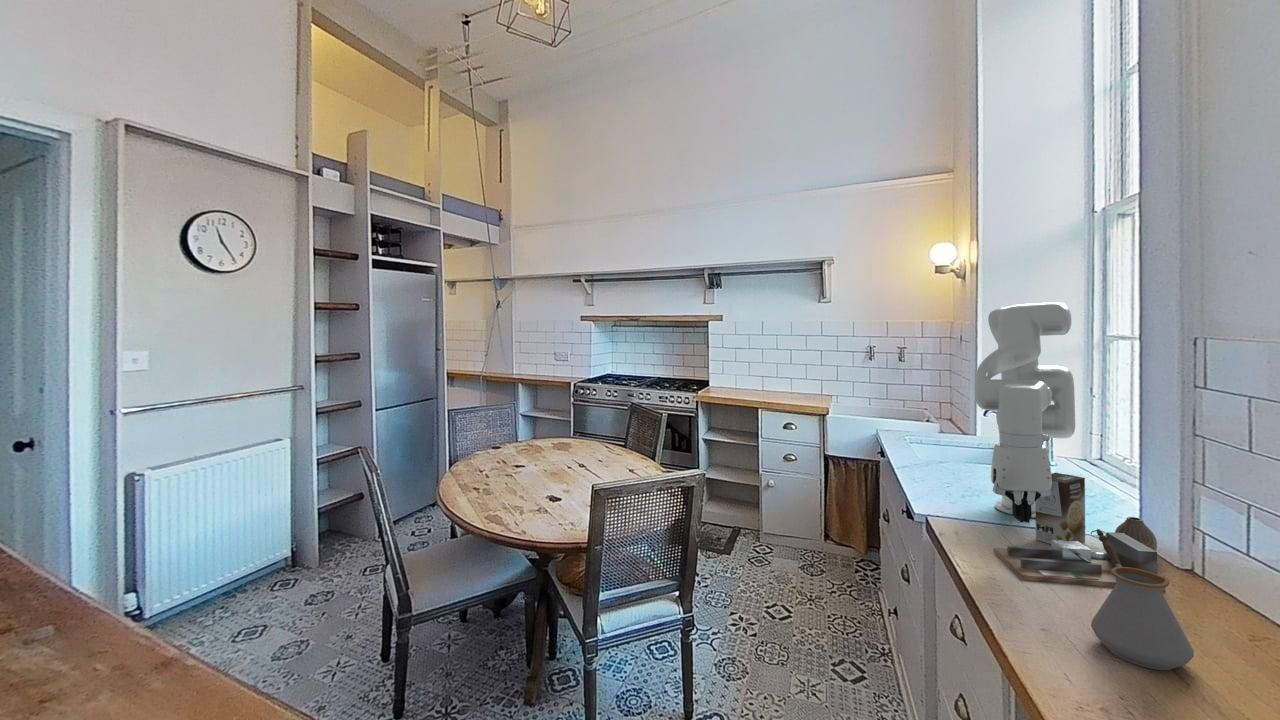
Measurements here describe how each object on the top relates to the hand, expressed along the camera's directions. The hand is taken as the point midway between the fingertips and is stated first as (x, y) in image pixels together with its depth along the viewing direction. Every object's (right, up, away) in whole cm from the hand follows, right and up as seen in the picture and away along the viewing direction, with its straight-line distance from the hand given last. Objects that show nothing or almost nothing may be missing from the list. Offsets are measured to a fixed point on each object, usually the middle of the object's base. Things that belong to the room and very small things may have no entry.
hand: (1022, 519), depth 108 cm
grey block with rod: (+11, -9, -6) cm, 15 cm away
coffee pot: (-3, -11, -26) cm, 29 cm away
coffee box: (+19, -9, +12) cm, 24 cm away
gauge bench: (+9, -10, -3) cm, 13 cm away
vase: (+28, -9, +2) cm, 29 cm away
